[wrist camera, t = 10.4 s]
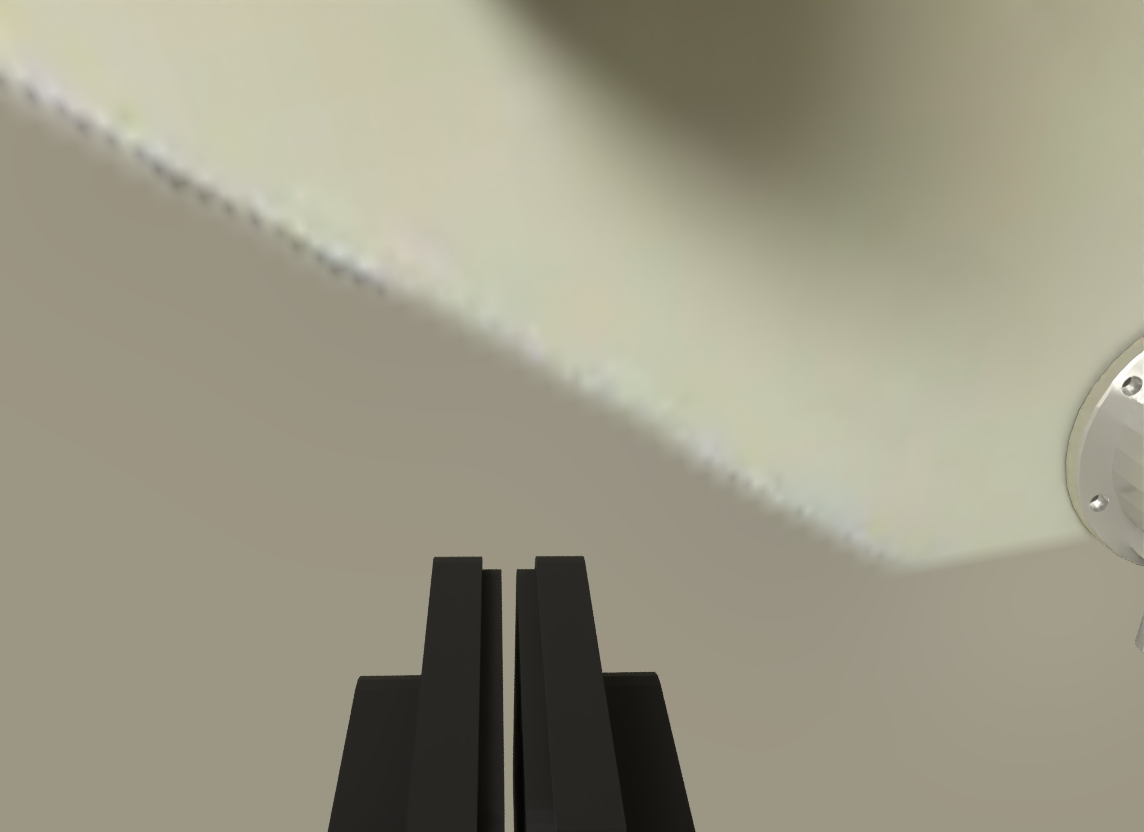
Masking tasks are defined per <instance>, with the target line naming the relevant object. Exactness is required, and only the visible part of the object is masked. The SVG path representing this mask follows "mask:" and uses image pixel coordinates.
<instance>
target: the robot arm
mask: <svg viewBox="0 0 1144 832" xmlns="http://www.w3.org/2000/svg"><path fill="white" fill-rule="evenodd" d="M1066 474H1067V487H1068V490H1069V494H1070V497H1071V501H1072V504H1073V507H1074V509H1075V510H1076V512H1077V514H1078V516H1079V517H1080V519H1081V521H1082V523H1083V524H1084V526H1085V527H1086V528H1087V529H1088V530H1089V531H1090V532H1091V533H1092V534H1093V535H1094V536H1095V537H1096V538H1097V539H1098V540H1099V541H1100V542H1101V543H1103V544H1104V545H1105V546H1106V547H1108V548H1109V549H1110V550H1111V551H1113V552H1114V553H1115V554H1116V555H1118V556H1120V557H1122V558H1124V559H1127V560H1128V561H1131V562H1133V563H1135V564H1137V565H1141V566H1144V336H1143V337H1142V338H1140V339H1139V340H1137V341H1136V342H1134V343H1133V344H1132V345H1131V346H1130V347H1129V348H1128V349H1127V350H1126V351H1125V352H1124V353H1122V354H1121V355H1120V356H1119V357H1118V358H1117V359H1116V360H1115V361H1114V362H1113V363H1112V364H1111V365H1110V366H1109V367H1108V369H1107V370H1106V371H1105V373H1104V374H1103V375H1102V376H1101V378H1100V379H1099V380H1098V381H1097V383H1096V384H1095V385H1094V386H1093V388H1092V390H1091V391H1090V393H1089V395H1088V397H1087V398H1086V400H1085V402H1084V404H1083V405H1082V407H1081V409H1080V411H1079V413H1078V416H1077V419H1076V421H1075V424H1074V427H1073V430H1072V432H1071V435H1070V439H1069V445H1068V452H1067V458H1066ZM501 584H502V582H501V569H498V570H497V569H495V570H494V569H488V570H487V569H486V570H482V557H434V559H433V568H432V578H431V587H430V597H429V607H428V616H427V627H426V636H425V645H424V655H423V656H424V657H423V666H422V675H408V676H407V675H406V676H360V677H359V679H358V682H357V685H356V689H355V694H354V700H353V705H352V709H351V715H350V720H349V725H348V730H347V735H346V741H345V746H344V751H343V756H342V761H341V767H340V772H339V777H338V782H337V787H336V792H335V797H334V802H333V807H332V813H331V818H330V823H329V828H328V832H504V742H503V741H504V739H503V659H502V588H501V587H502V585H501ZM1136 646H1137V647H1138V648H1139V649H1140V650H1141V651H1142V652H1143V653H1144V615H1143V618H1142V621H1141V624H1140V627H1139V631H1138V634H1137V637H1136ZM514 680H515V681H514V682H515V683H514V735H513V737H514V738H513V805H514V832H695V828H694V824H693V820H692V816H691V811H690V807H689V803H688V799H687V794H686V790H685V786H684V781H683V777H682V773H681V769H680V765H679V760H678V756H677V752H676V747H675V744H674V739H673V735H672V731H671V727H670V722H669V718H668V714H667V710H666V705H665V701H664V697H663V692H662V688H661V684H660V681H659V678H658V675H657V674H656V673H655V672H619V673H602V668H601V661H600V655H599V648H598V642H597V636H596V629H595V623H594V617H593V610H592V603H591V597H590V591H589V584H588V579H587V572H586V566H585V560H584V557H583V556H536V558H535V569H517V575H516V625H515V679H514Z"/></svg>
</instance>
